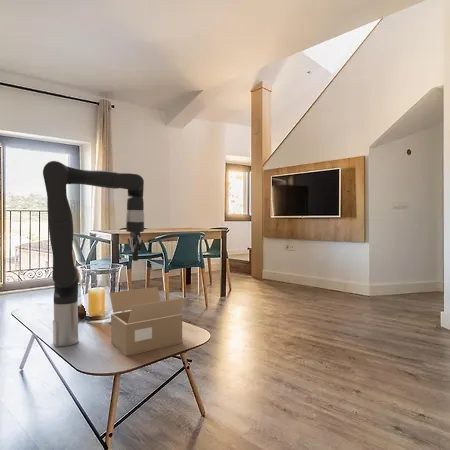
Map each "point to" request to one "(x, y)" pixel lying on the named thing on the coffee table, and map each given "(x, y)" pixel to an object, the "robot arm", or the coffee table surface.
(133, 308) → the near flap
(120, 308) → the far flap
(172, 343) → the carton
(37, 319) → the coffee table surface
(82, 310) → the decorative turtle
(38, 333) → the coffee table surface
